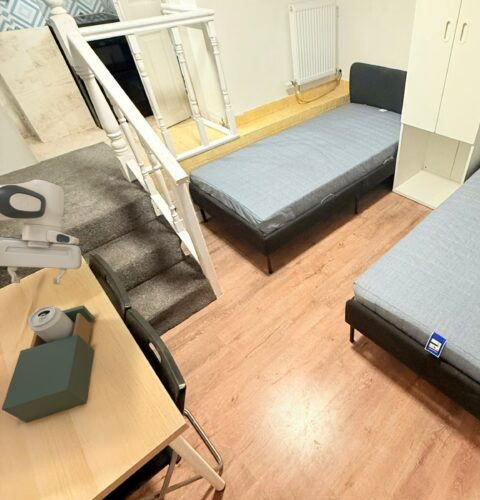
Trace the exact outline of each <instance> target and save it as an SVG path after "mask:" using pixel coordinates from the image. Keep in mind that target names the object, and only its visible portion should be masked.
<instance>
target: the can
mask: <svg viewBox="0 0 480 500" xmlns="http://www.w3.org/2000/svg"><path fill="white" fill-rule="evenodd" d="M28 323H29V326H28V327H29V329H30V330H31V331H32V332H34V333H36V334H37V335H38V336H40V337H41V338H42V339H43V340H44V341H46V342H47V343H49V342H53V341H57V340H60V339H64V338H67V337H71V336H73V331H74V326H75V323H74V322H73V321H72V320H71V319H70V318H69V317H68V316H67V315H66V314H65V313H64V312H63V310H62V309H61V308H60V307H57V306H52V305H45V306H42V307H40V308H38V309H36V310H35V311H33V313H31V315H30V316H29V318H28Z"/></svg>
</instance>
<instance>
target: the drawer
mask: <svg viewBox="0 0 480 500" xmlns="http://www.w3.org/2000/svg"><path fill="white" fill-rule="evenodd" d="M62 311H63V312H64V313H65V314H66V315H67V316H68V317H69V318H70V319H71V320H72V321H73V322H74V323H75V326H74V331H73V336H74V335H79V336H80V337H81V338H82V339H83V340H84V341H85V342H86V343H87V344H88V345H89V342H90V336H91V329H92V324H91V323H94V322H96V317H95V316H94V315H93V314H92V313H91V312H90V311H89V309H88V308H87V307H86V306H85V305H84V304H83V305H78V306H75V307H71V308H67V309H64V310H62ZM46 343H47V342H46V341H44V340H43V339H42V338H41V337H40V336H38V335H37V334H36V333H35V332H34V333H33V336H32V340H31V343H30V345H29V346H30V347H29V348H32V347H35V346H39V345H42V344H46Z"/></svg>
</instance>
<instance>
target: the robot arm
mask: <svg viewBox="0 0 480 500" xmlns="http://www.w3.org/2000/svg"><path fill="white" fill-rule="evenodd" d="M64 213H65V193H64V190H63V188H62V187H61V186H60V185H58V184H57V183H55V182H53V181H50V180H45V179H40V178H35V179H32V180H30V181H26V182H25V181H24V182H20V183H19V182H18V183H9V184H6V183H5V184H0V222H1V221H3V222H4V221H19V220H21V221H22V230H21V231H22V232H21V234H11V233H2V234H0V267H7V272H8V274H9V276H10V277H11V281H10V282H11V283H12V284H20V283H21V279H22V277H21V276H18V275H17V272H16V271H17V270H18V268H36V269H37V268H38V269H58V273H59V275H58V276H57V277H53V279H52V284H53V285H61V281H62V278H64V276H65V275H66V274H67V270H79V269H80V268H81V267H82V263H83V256H82V249H81V248H80V247H79V246H78V245H79V244H80V239H79V238H78V237H75V236H73V235H70V234H68V233H65V232H64V233H63V232H62V230H63V225H62V219H63V216H64Z"/></svg>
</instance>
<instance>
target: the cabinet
mask: <svg viewBox="0 0 480 500" xmlns="http://www.w3.org/2000/svg"><path fill="white" fill-rule="evenodd" d="M94 355H95V350H94V348H93V347H92V346H91V345H90V344H89V343H88V344H87V343H86V342H85V341H84V340H83V339H82V338H81V337H80V336H79V335H74V336H71V337H67V338H64V339H60V340H57V341H53V342H49V343H46V344H42V345H39V346H35V347H32V348H30V347H29V348H24V349H21V350H20V352H19V354H18V357H17V360H16V364H15V366H14V370H13V373H12V376H11V379H10V381H9V385H8V388H7V391H6V395H5V397H4V401H3V404H2V407H1V411H3V412H5V413H6V414H9V415H11V416H12V417H15V418H16V419H19V420H20V421H23V422H24V423H29V422H32V421H36V420H39V419H42V418H45V417H48V416H51V415H54V414H57V413H60V412H63V411H66V410H69V409H72V408H76V407H79V406H81V405H86V404H87V403H88V396H89V388H90V383H91V377H92V368H93V363H94Z"/></svg>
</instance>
